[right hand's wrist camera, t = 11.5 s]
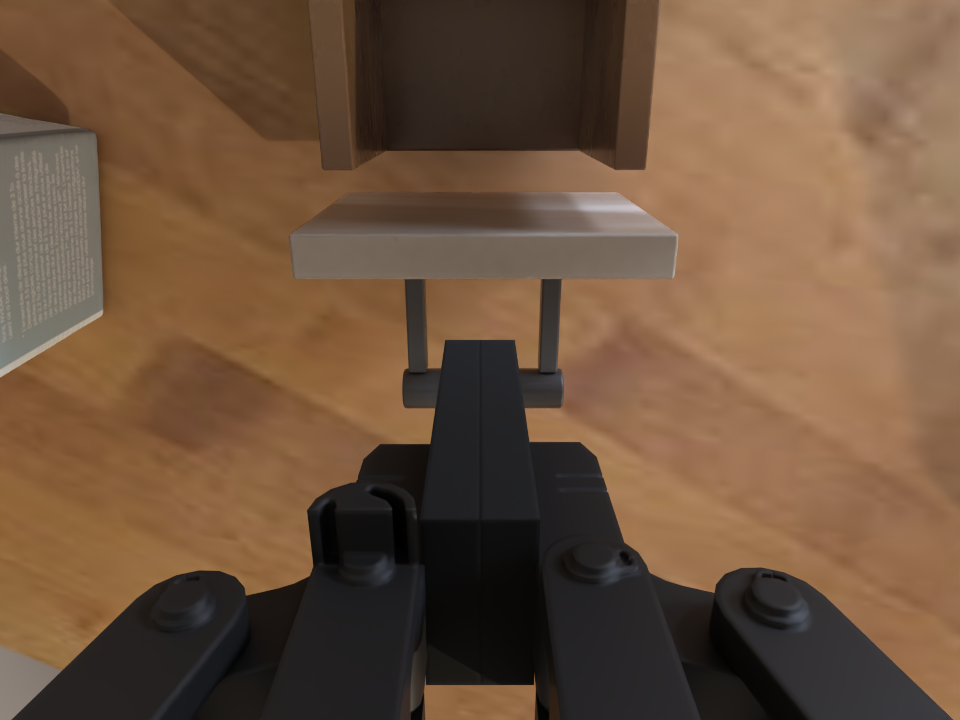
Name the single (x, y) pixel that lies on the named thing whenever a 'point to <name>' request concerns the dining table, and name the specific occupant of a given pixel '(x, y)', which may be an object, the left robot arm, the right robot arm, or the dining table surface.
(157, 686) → the right robot arm
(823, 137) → the dining table surface
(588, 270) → the drawer
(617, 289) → the dining table surface
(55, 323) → the hard drive box
